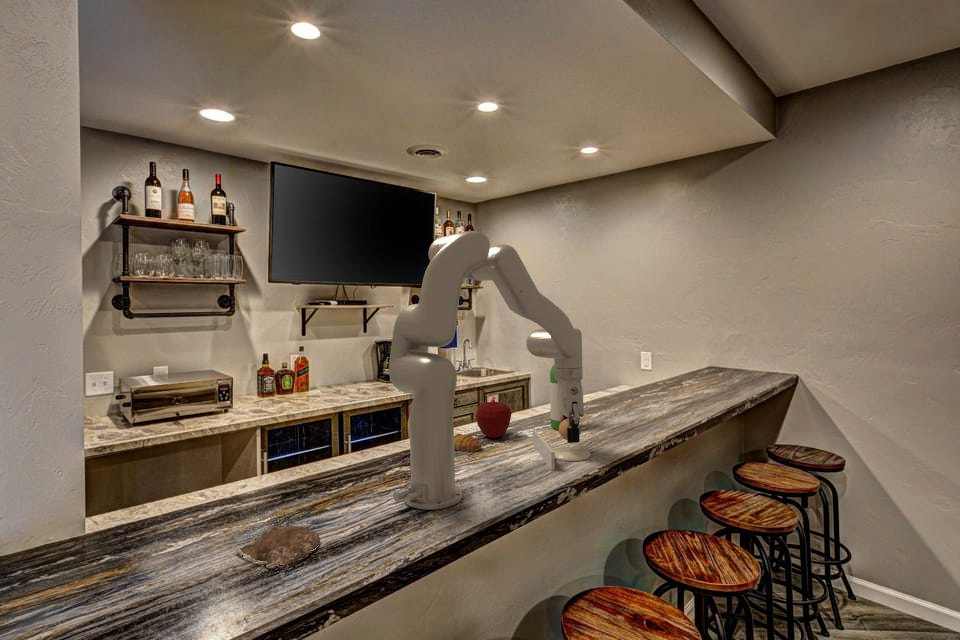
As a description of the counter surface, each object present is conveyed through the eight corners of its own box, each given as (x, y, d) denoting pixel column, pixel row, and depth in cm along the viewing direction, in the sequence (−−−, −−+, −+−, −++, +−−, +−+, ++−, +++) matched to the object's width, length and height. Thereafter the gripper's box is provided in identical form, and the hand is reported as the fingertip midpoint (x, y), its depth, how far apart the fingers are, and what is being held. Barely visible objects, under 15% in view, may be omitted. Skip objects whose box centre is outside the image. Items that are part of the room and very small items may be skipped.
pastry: (487, 448, 144) (486, 435, 144) (471, 455, 139) (471, 441, 139) (463, 443, 150) (462, 430, 150) (447, 449, 145) (447, 436, 145)
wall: (554, 470, 124) (554, 452, 124) (551, 470, 124) (551, 452, 124) (535, 444, 146) (535, 429, 146) (533, 445, 146) (532, 429, 146)
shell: (289, 530, 95) (289, 511, 95) (334, 546, 89) (333, 527, 88) (232, 556, 86) (231, 536, 86) (276, 577, 79) (276, 555, 79)
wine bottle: (578, 427, 166) (576, 337, 164) (569, 432, 159) (567, 339, 158) (556, 424, 170) (554, 336, 169) (546, 429, 163) (545, 338, 162)
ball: (573, 445, 132) (573, 422, 131) (554, 441, 136) (554, 419, 135) (585, 439, 136) (584, 418, 136) (566, 436, 140) (566, 415, 140)
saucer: (576, 464, 128) (576, 462, 128) (541, 456, 136) (541, 454, 135) (597, 454, 136) (597, 451, 136) (563, 446, 144) (563, 444, 144)
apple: (470, 439, 153) (469, 402, 153) (487, 431, 163) (486, 395, 162) (502, 443, 148) (501, 405, 148) (517, 435, 157) (516, 398, 157)
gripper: (592, 377, 127) (593, 447, 128) (572, 368, 144) (574, 430, 145) (563, 379, 126) (565, 449, 127) (547, 369, 143) (548, 431, 144)
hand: (569, 438), depth 136 cm, fingers closed on ball, 5 cm apart
